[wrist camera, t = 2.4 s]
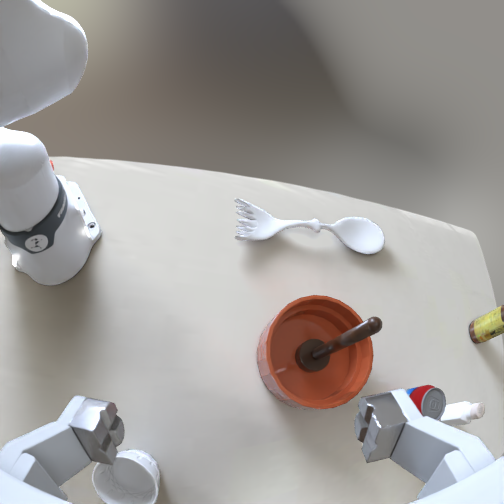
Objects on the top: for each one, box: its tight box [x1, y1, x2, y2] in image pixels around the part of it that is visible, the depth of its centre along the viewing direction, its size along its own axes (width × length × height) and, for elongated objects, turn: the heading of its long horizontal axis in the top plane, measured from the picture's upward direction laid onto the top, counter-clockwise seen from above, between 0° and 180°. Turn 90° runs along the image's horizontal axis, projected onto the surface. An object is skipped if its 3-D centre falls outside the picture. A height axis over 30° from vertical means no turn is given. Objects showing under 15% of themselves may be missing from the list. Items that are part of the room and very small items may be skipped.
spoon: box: [234, 199, 385, 254], centre depth 56 cm, size 9×32×4 cm, turn 92°
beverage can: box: [405, 385, 446, 420], centre depth 37 cm, size 7×7×12 cm
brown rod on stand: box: [295, 317, 382, 373], centre depth 36 cm, size 5×5×19 cm
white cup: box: [92, 449, 160, 504], centre depth 26 cm, size 8×8×10 cm
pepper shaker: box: [441, 401, 485, 426], centre depth 39 cm, size 4×4×10 cm
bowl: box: [258, 295, 373, 410], centre depth 42 cm, size 17×17×6 cm
